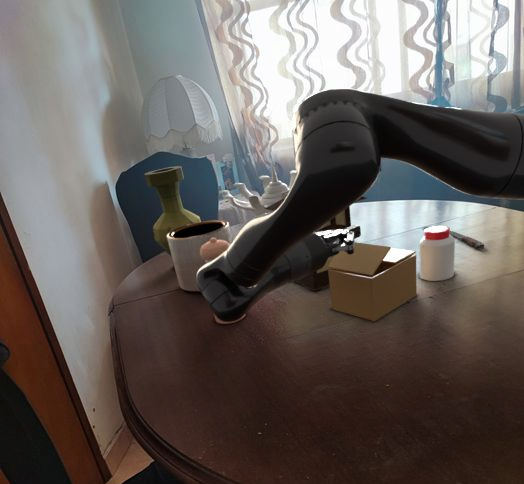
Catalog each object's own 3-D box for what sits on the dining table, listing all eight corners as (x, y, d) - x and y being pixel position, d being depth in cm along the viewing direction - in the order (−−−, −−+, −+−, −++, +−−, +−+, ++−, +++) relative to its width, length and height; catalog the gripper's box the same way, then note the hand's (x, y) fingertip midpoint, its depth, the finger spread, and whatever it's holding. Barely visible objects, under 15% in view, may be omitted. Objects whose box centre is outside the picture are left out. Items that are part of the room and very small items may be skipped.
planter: (173, 283, 139) (159, 231, 132) (227, 266, 144) (217, 216, 137) (190, 300, 124) (175, 243, 117) (249, 281, 129) (238, 225, 122)
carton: (374, 321, 95) (371, 274, 91) (332, 309, 104) (327, 266, 99) (416, 295, 103) (416, 251, 98) (373, 286, 111) (371, 245, 107)
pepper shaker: (215, 326, 107) (195, 245, 98) (216, 313, 113) (197, 237, 104) (245, 320, 107) (228, 239, 98) (245, 308, 113) (229, 231, 104)
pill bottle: (438, 283, 106) (438, 236, 101) (412, 276, 112) (411, 232, 107) (461, 273, 109) (462, 227, 104) (435, 266, 115) (435, 223, 110)
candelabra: (252, 277, 132) (233, 178, 119) (222, 250, 162) (204, 168, 149) (358, 247, 139) (351, 150, 126) (311, 226, 169) (301, 146, 156)
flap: (372, 276, 91) (371, 274, 91) (328, 267, 99) (327, 266, 99) (391, 248, 92) (390, 246, 92) (346, 242, 101) (345, 240, 100)
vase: (159, 266, 158) (133, 174, 144) (203, 253, 162) (182, 163, 148) (169, 278, 144) (140, 178, 130) (217, 264, 148) (195, 166, 134)
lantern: (395, 267, 120) (391, 142, 105) (311, 298, 111) (294, 167, 97) (353, 253, 135) (344, 142, 121) (275, 279, 127) (256, 164, 112)
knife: (422, 225, 144) (438, 222, 144) (422, 229, 145) (438, 226, 145) (467, 247, 120) (486, 243, 120) (467, 252, 120) (486, 247, 120)
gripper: (319, 241, 78) (383, 213, 87) (269, 234, 88) (331, 209, 96) (324, 283, 82) (385, 252, 90) (275, 272, 91) (335, 244, 100)
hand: (357, 230), depth 93 cm, fingers closed
